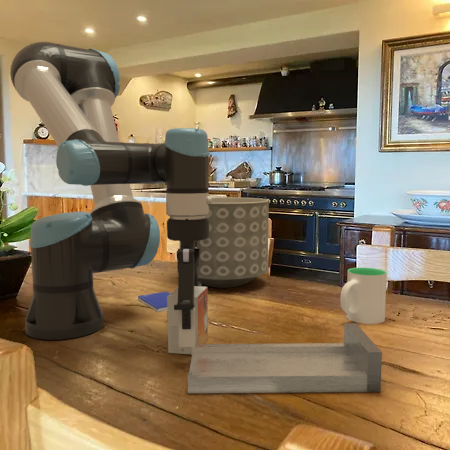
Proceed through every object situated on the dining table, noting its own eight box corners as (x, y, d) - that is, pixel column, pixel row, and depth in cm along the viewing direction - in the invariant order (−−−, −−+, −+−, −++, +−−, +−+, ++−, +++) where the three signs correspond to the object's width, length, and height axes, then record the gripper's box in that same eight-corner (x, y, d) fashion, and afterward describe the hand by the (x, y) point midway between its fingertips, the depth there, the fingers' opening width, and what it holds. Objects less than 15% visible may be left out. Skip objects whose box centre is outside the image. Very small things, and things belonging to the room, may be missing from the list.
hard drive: (137, 295, 119) (157, 307, 109) (167, 291, 123) (189, 302, 113) (138, 301, 119) (157, 314, 109) (167, 297, 124) (189, 308, 113)
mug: (361, 330, 96) (362, 280, 94) (328, 321, 102) (329, 273, 100) (391, 318, 104) (393, 271, 102) (359, 310, 110) (360, 266, 108)
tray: (187, 393, 69) (187, 353, 68) (192, 358, 82) (192, 324, 81) (380, 391, 69) (382, 352, 69) (355, 357, 82) (356, 323, 81)
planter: (280, 291, 127) (281, 201, 124) (188, 297, 121) (187, 203, 118) (252, 272, 151) (253, 196, 148) (174, 276, 145) (173, 198, 142)
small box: (198, 356, 83) (197, 297, 82) (167, 353, 84) (166, 295, 83) (208, 340, 91) (208, 286, 89) (180, 338, 92) (179, 284, 90)
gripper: (207, 223, 72) (208, 359, 74) (210, 211, 97) (211, 313, 99) (157, 224, 72) (160, 359, 74) (173, 212, 97) (175, 313, 99)
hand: (189, 333), depth 87 cm, fingers open, 13 cm apart
